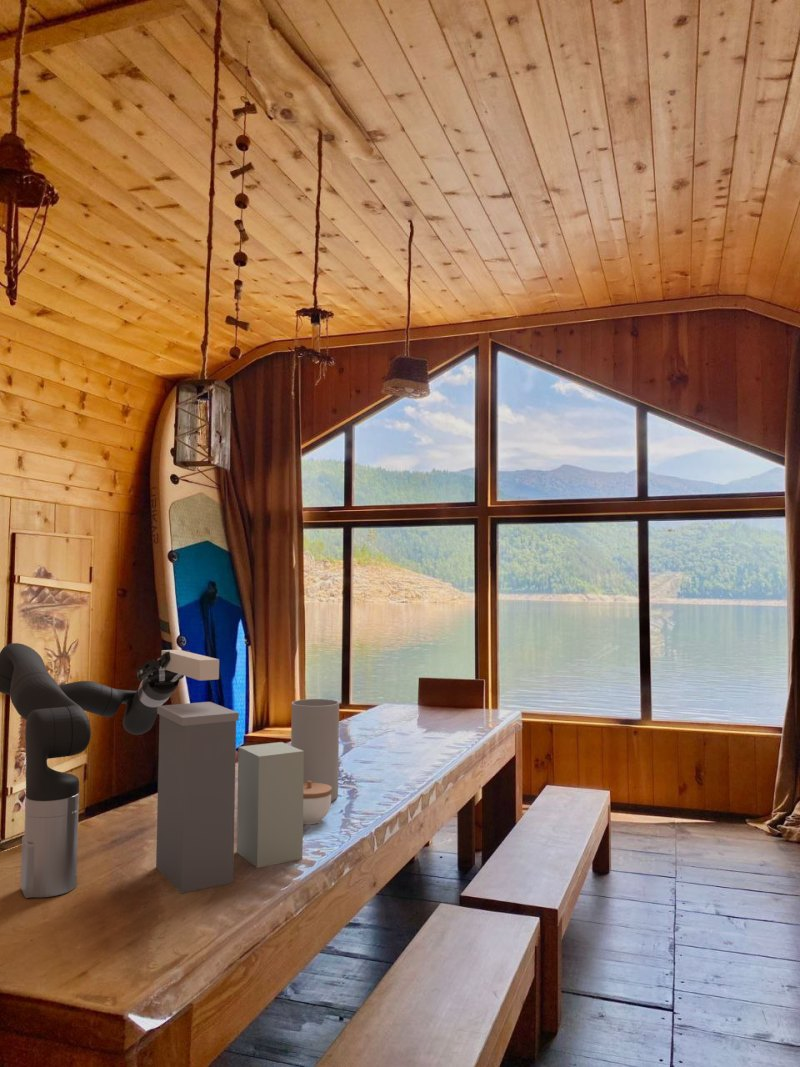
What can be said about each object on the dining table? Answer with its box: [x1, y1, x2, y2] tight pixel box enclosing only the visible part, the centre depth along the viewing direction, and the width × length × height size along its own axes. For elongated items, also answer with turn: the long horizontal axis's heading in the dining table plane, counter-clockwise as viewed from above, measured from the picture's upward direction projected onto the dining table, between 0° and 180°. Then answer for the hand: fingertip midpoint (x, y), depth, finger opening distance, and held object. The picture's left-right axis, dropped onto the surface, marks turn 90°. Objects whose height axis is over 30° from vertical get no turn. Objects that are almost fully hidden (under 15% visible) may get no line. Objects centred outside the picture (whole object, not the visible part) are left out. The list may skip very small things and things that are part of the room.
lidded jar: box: [303, 781, 332, 825], centre depth 195 cm, size 11×11×9 cm
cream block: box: [161, 649, 220, 682], centre depth 174 cm, size 4×25×4 cm, turn 34°
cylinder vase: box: [290, 698, 340, 802], centre depth 215 cm, size 12×12×25 cm
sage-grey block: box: [236, 741, 304, 868], centre depth 171 cm, size 10×11×22 cm
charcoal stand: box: [155, 701, 240, 894], centre depth 160 cm, size 11×16×32 cm
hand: (179, 654), depth 180 cm, fingers closed on cream block, 4 cm apart
